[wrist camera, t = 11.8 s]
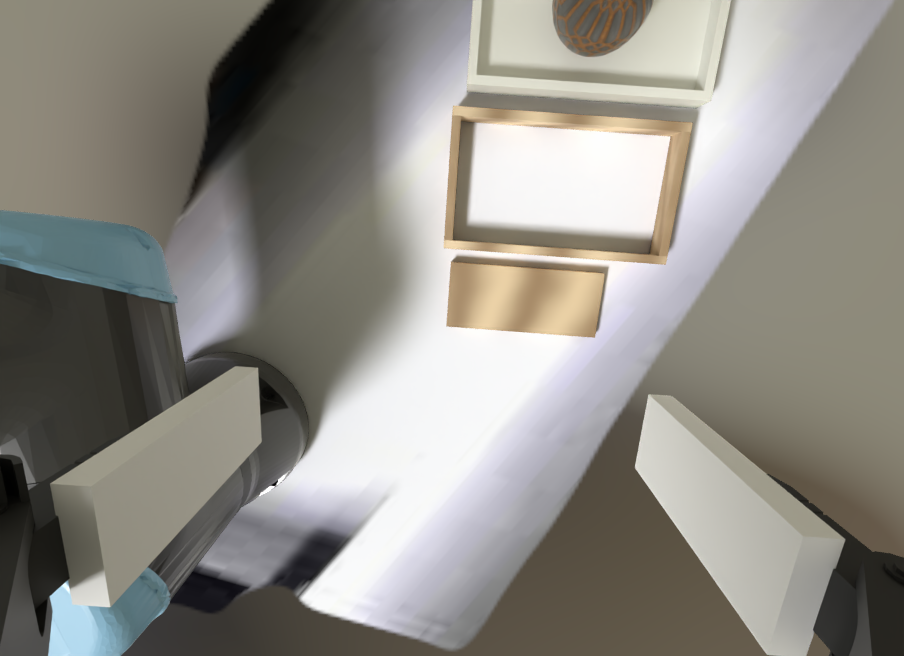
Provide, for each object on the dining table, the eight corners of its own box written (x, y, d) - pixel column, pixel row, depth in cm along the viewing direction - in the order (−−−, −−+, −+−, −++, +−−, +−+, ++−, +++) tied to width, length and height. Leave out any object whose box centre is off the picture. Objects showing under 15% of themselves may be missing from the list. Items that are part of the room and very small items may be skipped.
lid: (446, 324, 41) (446, 326, 40) (451, 261, 39) (451, 262, 39) (592, 335, 41) (594, 337, 40) (602, 272, 39) (604, 273, 39)
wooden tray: (444, 246, 39) (443, 248, 37) (453, 111, 36) (452, 105, 34) (655, 262, 39) (665, 264, 37) (680, 128, 36) (692, 122, 34)
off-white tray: (466, 92, 36) (466, 83, 34) (478, -69, 33) (479, -89, 31) (696, 108, 36) (711, 101, 34) (727, -52, 33) (745, -71, 31)
